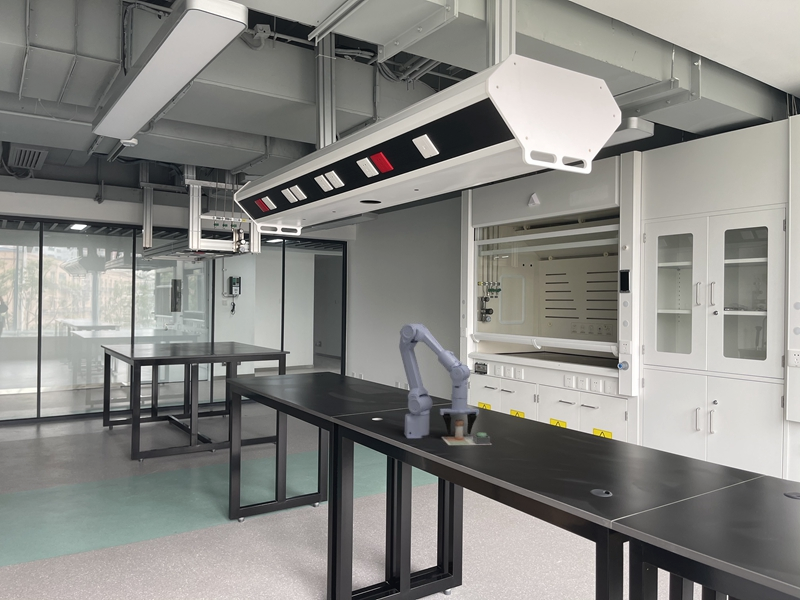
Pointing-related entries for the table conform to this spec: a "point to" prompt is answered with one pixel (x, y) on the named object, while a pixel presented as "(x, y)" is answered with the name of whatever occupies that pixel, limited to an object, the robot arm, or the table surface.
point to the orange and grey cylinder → (459, 429)
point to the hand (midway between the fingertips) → (458, 433)
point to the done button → (481, 434)
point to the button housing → (481, 439)
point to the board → (461, 441)
